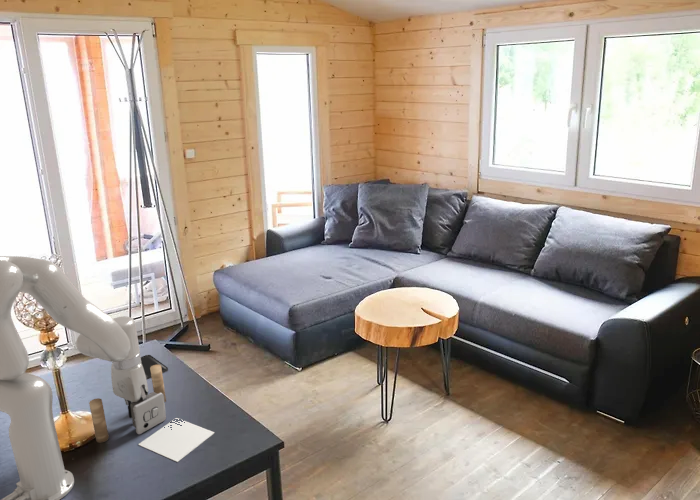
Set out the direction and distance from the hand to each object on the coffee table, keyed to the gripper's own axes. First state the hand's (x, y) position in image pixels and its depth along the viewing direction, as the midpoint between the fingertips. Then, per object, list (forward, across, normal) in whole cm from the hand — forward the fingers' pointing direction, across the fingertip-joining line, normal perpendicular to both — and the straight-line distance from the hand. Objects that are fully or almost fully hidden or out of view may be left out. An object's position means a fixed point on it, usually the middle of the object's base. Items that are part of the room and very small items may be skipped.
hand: (135, 415), depth 165 cm
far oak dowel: (+2, -2, +11) cm, 11 cm away
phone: (+3, -22, +24) cm, 33 cm away
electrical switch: (+1, +4, 0) cm, 4 cm away
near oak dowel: (+2, -2, -10) cm, 10 cm away
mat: (+2, +16, 0) cm, 16 cm away
